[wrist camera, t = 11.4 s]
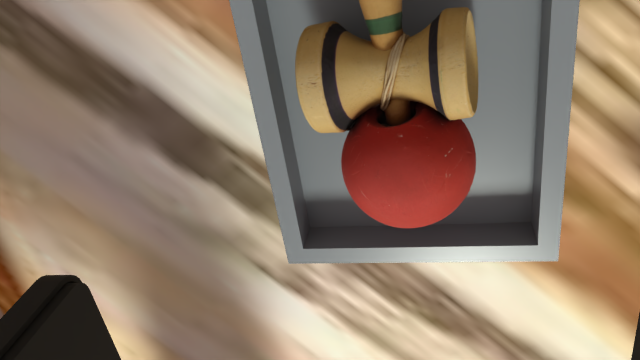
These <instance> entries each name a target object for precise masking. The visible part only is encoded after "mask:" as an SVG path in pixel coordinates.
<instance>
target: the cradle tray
mask: <svg viewBox="0 0 640 360" xmlns="http://www.w3.org/2000/svg"><path fill="white" fill-rule="evenodd" d="M579 1H580V0H402V28H403V32H405V34H407V35H409V36H410V37H411V36H413V35H415V34H417V33H419V32H420V31H422V30H423V29H424V28H426V27H427V26H428V25H429V24H430V23H431V22H432V21H433V20H435V19H436V17H437V16H438V15H439V14H440V12H442V11H443V10H444V9H446V8H458V7H467V8H469V10H470V11H471V13H472V16H473V22H474V28H475V36H476V45H477V57H478V103H477V110H476V113H475V114H474V115H473V117H470V118H464V119H461V120H462V121H463V122H464V123H465V125H466V127H467V128H468V130H469V132H470V134H471V137H472V139H473V142H474V147H475V152H476V172H475V175H474V179H473V183H472V185H471V188H470V191H469V192H468V195H467V196H466V197H465V199H464V200H463V201H462V203H461V204H460V205H459V206H458V207H457V208H456V209H455V210H454V211H453V212H452V213H451V214H450V215H448V216H447V217H445V218H444V219H442V220H440V221H438V222H436V223H433V224H431V225H428V226H424V227H418V228H397V227H392V226H389V225H386V224H383V223H381V222H379V221H377V220H375V219H373V218H372V217H370V216H369V215H367V214H366V213H365V212H364V211H363V210H362V209H360V208H359V206H358V205H357V204H356V203H355V202H354V200H353V199H352V197H351V196H350V194H349V192H348V190H347V187H346V185H345V182H344V179H343V174H342V167H341V157H342V150H343V146H344V142H345V140H346V137H347V135H348V133H349V131H345V132H339V133H319V132H317V131H315V130H314V129H313V128H312V127H311V126H310V124H309V123H308V121H307V120H306V118H305V116H304V113H303V111H302V108H301V105H300V102H299V97H298V92H297V87H296V76H295V58H296V50H297V45H298V42H299V38H300V36H301V34H302V32H303V30H304V29H305V28H306V27H307V26H310V25H314V24H319V23H324V22H329V21H335V22H338V23H339V24H340V25H341V26H342V27H344V28H345V29H346V30H347V31H349V32H350V33H351V34H353V35H355V36H357V37H359V38H362V39H365V40H368V41H371V38H370V35H369V31H368V28H367V25H366V22H365V19H364V15H363V12H362V9H361V6H360V3H359V0H229V2H230V6H231V11H232V15H233V19H234V24H235V28H236V33H237V37H238V42H239V46H240V50H241V55H242V59H243V64H244V68H245V72H246V77H247V81H248V86H249V90H250V95H251V99H252V103H253V108H254V112H255V117H256V121H257V125H258V130H259V134H260V139H261V143H262V148H263V152H264V156H265V161H266V165H267V170H268V174H269V179H270V183H271V187H272V192H273V196H274V201H275V205H276V209H277V214H278V218H279V223H280V227H281V232H282V236H283V240H284V245H285V249H286V254H287V258H288V262H289V264H291V263H403V262H515V261H558V256H559V244H560V232H561V220H562V208H563V196H564V183H565V171H566V159H567V147H568V135H569V123H570V110H571V98H572V86H573V74H574V62H575V49H576V37H577V25H578V13H579Z"/></svg>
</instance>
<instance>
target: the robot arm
mask: <svg viewBox="0 0 640 360" xmlns="http://www.w3.org/2000/svg"><path fill="white" fill-rule="evenodd" d="M0 360H121V358H120V356H119V354H118V352H117V349H116V347H115V345H114V343H113V340H112V338H111V336H110V334H109V332H108V329H107V327H106V325H105V323H104V321H103V318H102V316H101V314H100V312H99V309H98V307H97V305H96V303H95V301H94V298H93V296H92V294H91V292H90V289H89V288H88V286H87V285H86V284H84V283H82V282H81V280H80V279H79V278H78V277H77V276H74V275H45V276H42V277H40V278H39V279H38V280H36V281H35V283H34V284H33V285H32V286H31V287H30V288H29V289H28V290H27V291H26V292H25V293H24V294H23V295H22V296H21V298H20V299H19V300H18V301H17V302H16V303H15V304H14V305H13V306H12V307H11V308H10V309H9V310H8V312H7V313H6V314H5V315H4V316H3V317H2V318H1V319H0ZM631 360H640V313H639V319H638V324H637V330H636V336H635V341H634V347H633V353H632V358H631Z"/></svg>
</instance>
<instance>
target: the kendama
mask: <svg viewBox="0 0 640 360" xmlns="http://www.w3.org/2000/svg"><path fill="white" fill-rule="evenodd" d="M359 3H360V6H361V9H362V12H363V15H364V19H365V22H366V25H367V28H368V31H369V35H370V38H371V41H368V40H365V39H362V38H359V37H357V36H355V35H353V34H351V33H350V32H349V31H347V30H346V29H345V28H344V27H342V26H341V25H340V24H339V23H338V22H335V21H329V22H324V23H319V24H314V25H310V26H307V27H306V28H305V29H304V30H303V32H302V34H301V36H300V38H299V42H298V45H297V50H296V58H295V76H296V87H297V92H298V97H299V102H300V105H301V108H302V111H303V113H304V116H305V118H306V120H307V121H308V123H309V124H310V126H311V127H312V128H313V129H314V130H315V131H317V132H319V133H339V132H345V131H349V133H348V135H347V137H346V140H345V142H344V146H343V150H342V157H341V167H342V174H343V179H344V182H345V185H346V187H347V190H348V192H349V194H350V196H351V197H352V199H353V200H354V202H355V203H356V204H357V205H358V206H359V208H360V209H362V210H363V211H364V212H365V213H366V214H367V215H369V216H370V217H372V218H373V219H375V220H377V221H379V222H381V223H383V224H386V225H389V226H392V227H397V228H418V227H424V226H428V225H431V224H433V223H436V222H438V221H440V220H442V219H444V218H445V217H447V216H448V215H450V214H451V213H452V212H453V211H454V210H455V209H456V208H457V207H458V206H459V205H460V204H461V203H462V201H463V200H464V199H465V197H466V196H467V195H468V192H469V191H470V188H471V185H472V183H473V179H474V175H475V172H476V152H475V147H474V142H473V139H472V137H471V134H470V132H469V130H468V128H467V127H466V125H465V123H464V122H463V121H462V120H461V119H464V118H470V117H473V115H474V114H475V113H476V110H477V103H478V57H477V45H476V36H475V28H474V22H473V16H472V13H471V11H470V10H469V8H467V7H458V8H446V9H444V10H443V11H442V12H440V14H439V15H438V16H437V17H436V19H435V20H433V21H432V22H431V23H430V24H429V25H428V26H427V27H426V28H424V29H423V30H422V31H420V32H419V33H417V34H415V35H413V36H411V37H410V36H409V35H407V34H405V32H403V28H402V0H359Z"/></svg>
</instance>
